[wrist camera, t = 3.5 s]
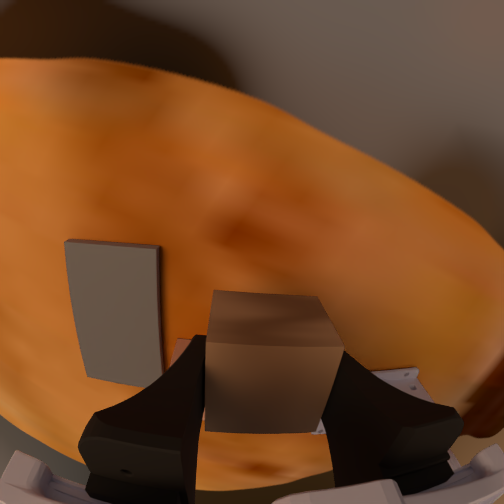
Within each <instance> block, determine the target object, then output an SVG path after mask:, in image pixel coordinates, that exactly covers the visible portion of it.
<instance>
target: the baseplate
mask: <svg viewBox="0 0 504 504" xmlns="http://www.w3.org/2000/svg"><path fill="white" fill-rule="evenodd" d="M64 245H65V256H66V266H67V275H68V283H69V290H70V297H71V303H72V309H73V315H74V321H75V326H76V331H77V336H78V340H79V345H80V349H81V354H82V358H83V362H84V366H85V370H86V373H87V377H91V378H96V379H100V380H105V381H110V382H115V383H120V384H126V385H132V386H138V387H144V388H146V387H148V386H149V385H151V384H152V383H153V382H154V381H156V380H157V379H158V378H159V377H160V376H161V375H162V374H163V373H164V364H163V351H162V335H161V316H160V284H159V246H157V245H144V244H131V243H118V242H105V241H92V240H79V239H68V240H67V241H65V242H64Z"/></svg>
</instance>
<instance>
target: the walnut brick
mask: <svg viewBox="0 0 504 504" xmlns="http://www.w3.org/2000/svg"><path fill="white" fill-rule="evenodd" d="M344 348H345V346H344V344H343V342H342V340H341V339H340V337H339V335H338V333H337V331H336V329H335V328H334V326H333V324H332V322H331V320H330V319H329V317H328V315H327V313H326V311H325V310H324V308H323V306H322V304H321V302H320V301H319V299H318V297H317V296H297V295H279V294H263V293H248V292H234V291H220V290H214V291H213V298H212V304H211V311H210V318H209V324H208V331H207V338H206V359H205V431H210V432H226V433H252V434H280V433H307V432H316V430H317V427H318V425H319V422H320V419H321V417H322V414H323V411H324V409H325V406H326V403H327V400H328V397H329V395H330V392H331V389H332V386H333V383H334V380H335V377H336V374H337V371H338V367H339V364H340V361H341V358H342V354H343V351H344Z"/></svg>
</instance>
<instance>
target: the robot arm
mask: <svg viewBox="0 0 504 504" xmlns="http://www.w3.org/2000/svg"><path fill="white" fill-rule="evenodd" d="M206 338H207V336H206V335H195V336H194V337H193V338H192V340H191V342H190V343H189V345H188V346H187V347H186V349H185V350H184V351H183V353H182V354H181V355H180V356H179V358H178V359H177V360H176V361H175V362H174V363H173V364H172V365H171V366H170V367H169V368H168V370H167V371H166V372H165V373H163V374H162V375H161V376H160V377H159V378H158V379H157V380H156V381H154V382H153V383H152V384H151V385H149V386H148V387H146V388H145V389H144V390H142V391H141V392H139V393H138V394H136V395H134V396H133V397H131V398H129V399H127V400H125V401H123V402H121V403H119V404H116V405H114V406H112V407H109V408H106V409H103V410H101V411H98V412H95V413H94V414H93V416H92V417H91V419H90V420H89V422H88V424H87V425H86V427H85V429H84V431H83V434H82V436H81V438H80V441H79V444H78V449H79V452H80V454H81V456H82V458H83V460H84V461H85V463H86V465H87V467H88V469H89V470H90V472H91V473H90V476H89V479H88V482H87V485H86V486H85V485H81V484H78V483H75V482H73V481H70V480H67V479H64V478H62V477H59V476H56V475H54V474H52V472H51V470H50V468H49V467H48V466H47V465H46V464H45V463H44V462H42V461H41V460H39V459H36V458H34V457H32V456H30V455H28V454H25V453H23V452H21V451H19V450H15V452H14V454H13V456H12V458H11V460H10V462H9V463H8V465H7V467H6V469H5V471H4V473H3V475H2V477H1V479H0V504H195V486H196V468H197V454H198V441H199V434H200V428H201V423H202V418H203V413H204V408H205V359H206ZM418 373H419V369H418V368H417V367H413V368H405V369H395V370H385V371H374V372H370V371H369V370H367V369H366V368H365V367H363V366H362V365H361V364H360V363H358V362H357V361H356V360H355V359H354V358H352V357H351V356H350V355H349V354H348V353H346V352H345V351H343V354H342V358H341V361H340V364H339V367H338V371H337V374H336V377H335V380H334V383H333V386H332V389H331V392H330V395H329V397H328V400H327V403H326V406H325V409H324V411H323V414H322V417H321V419H320V422H319V425H318V427H317V430H316V432H311V434H326V435H327V439H328V443H329V449H330V454H331V460H332V466H333V473H334V481H335V488H330V489H323V490H315V491H306V492H301V493H295V494H290V495H287V496H285V497H282V498H279V499H277V500H275V501H274V502H273V503H272V504H492V503H494V502H495V501H496V500H497V499H498V498H499V497H500V496H501V495H502V494H504V453H503V451H502V450H501V448H500V447H499V446H498V444H496V443H495V444H493V445H491V446H489V447H487V448H485V449H483V450H482V451H480V452H479V453H477V454H476V455H475V456H474V457H473V459H472V460H471V461H470V463H469V464H467V465H464V466H462V467H461V465H460V464H459V462H458V461H457V459H456V457H455V456H454V454H453V452H452V451H451V449H450V447H451V446H452V445H453V443H454V442H455V440H456V439H457V438H458V436H459V435H460V433H461V432H462V429H463V426H464V421H463V420H462V418H461V417H460V415H459V414H458V413H457V411H456V410H455V409H454V408H453V407H449V406H444V405H440V404H436V403H434V401H433V400H432V399H431V397H430V396H429V394H428V393H427V392H426V390H425V389H424V387H423V386H422V385H421V383H420V382H419V380H418V379H417V378H416V377H417V375H418Z"/></svg>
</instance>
